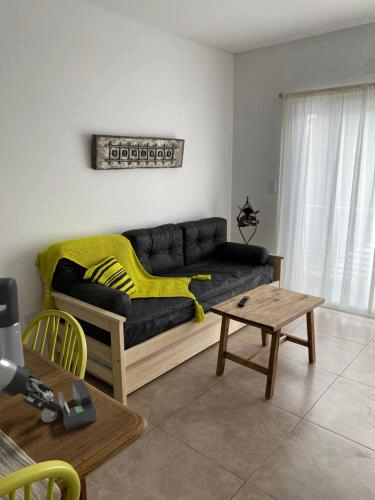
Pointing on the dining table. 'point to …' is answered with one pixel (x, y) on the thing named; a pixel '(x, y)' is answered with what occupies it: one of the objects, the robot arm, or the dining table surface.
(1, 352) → the robot arm
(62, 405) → the gauge plate
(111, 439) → the dining table surface
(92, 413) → the gauge frame
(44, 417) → the rook chess piece
